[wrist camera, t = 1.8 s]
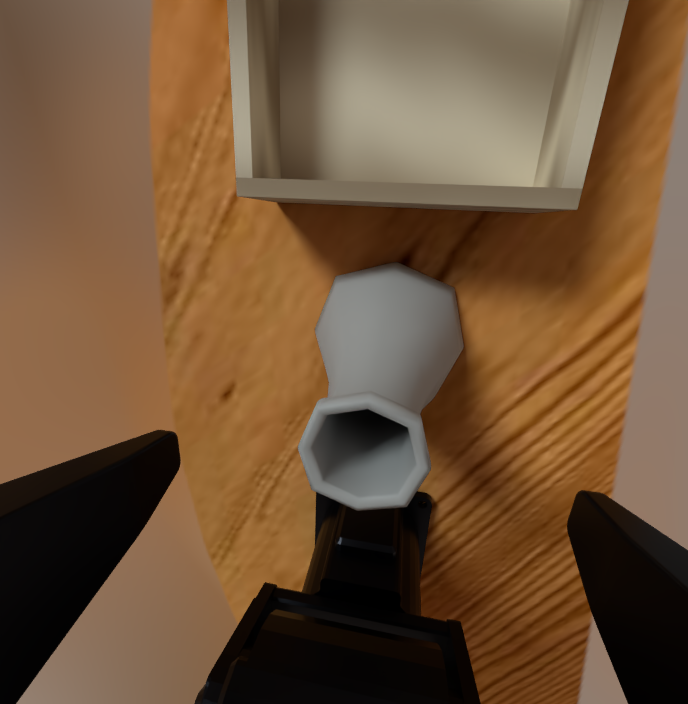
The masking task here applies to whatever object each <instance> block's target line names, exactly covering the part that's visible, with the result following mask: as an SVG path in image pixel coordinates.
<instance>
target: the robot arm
mask: <svg viewBox="0 0 688 704" xmlns="http://www.w3.org/2000/svg"><path fill="white" fill-rule="evenodd" d="M179 467H180V452H179V444H178V437H177V435H176V433H174V432H172V431H165V430H156V431H153V432H150V433H147V434H144V435H141V436H139V437H136V438H133V439H130V440H127V441H124V442H121V443H118V444H115V445H113V446H110V447H107V448H104V449H101V450H98V451H95V452H92V453H89V454H87V455H84V456H81V457H78V458H75V459H72V460H69V461H66V462H63V463H61V464H58V465H55V466H52V467H49V468H46V469H43V470H40V471H37V472H35V473H32V474H29V475H26V476H23V477H20V478H17V479H14V480H11V481H9V482H6V483H3V484H0V704H16V703H17V702H18V700H19V699H20V698H21V696H22V695H23V693H24V692H25V691H26V689H27V688H28V687H29V685H30V684H31V682H32V681H33V680H34V678H35V677H36V675H37V674H38V673H39V671H40V670H41V669H42V667H43V666H44V665H45V663H46V662H47V660H48V659H49V658H50V656H51V655H52V654H53V652H54V651H55V650H56V648H57V647H58V645H59V644H60V643H61V641H62V640H63V638H64V637H65V636H66V634H67V633H68V631H69V630H70V629H71V628H72V626H73V625H74V623H75V622H76V621H77V619H78V618H79V616H80V615H81V614H82V612H83V611H84V610H85V608H86V607H87V606H88V604H89V603H90V601H91V600H92V598H93V597H94V596H95V595H96V593H97V592H98V591H99V589H100V588H101V586H102V585H103V584H104V582H105V581H106V580H107V578H108V577H109V575H110V574H111V573H112V571H113V570H114V569H115V567H116V566H117V564H118V563H119V562H120V560H121V559H122V557H123V556H124V555H125V553H126V552H127V551H128V549H129V548H130V547H131V545H132V544H133V543H134V541H135V540H136V538H137V537H138V536H139V534H140V532H141V531H142V530H143V528H144V527H145V525H146V524H147V522H148V520H149V519H150V517H151V516H152V514H153V512H154V511H155V509H156V507H157V506H158V504H159V502H160V501H161V499H162V497H163V495H164V494H165V492H166V490H167V489H168V487H169V485H170V484H171V482H172V480H173V479H174V477H175V475H176V474H177V472H178V470H179ZM420 501H424V502H425V503H420ZM431 508H432V503H431V497H430V496H429V495H428V494H427V493H424V492H416V493H415V495H414V496H413V498H412V500H411V501H410V503H409V504H408V506H407V507H399V508H386V509H373V510H360V511H357V510H354V509H352V508H350V507H348V506H346V505H344V504H341V503H339V502H337V501H335V500H333V499H331V498H329V497H326V496H324V495H322V494H320V493H318V492H316V528H315V549H314V552H313V556H312V559H311V562H310V566H309V569H308V573H307V576H306V579H305V583H304V586H303V590H302V592H299V591H294V590H289V589H284V588H279V587H277V585H276V584H271V583H266V582H265V583H264V585H263V586H262V588H261V590H260V592H259V593H258V595H257V597H256V598H254V599H253V601H252V602H251V604H250V606H249V607H248V609H247V611H246V613H245V614H244V616H243V618H242V619H241V621H240V623H239V624H238V626H237V628H236V630H235V631H234V633H233V635H232V636H231V638H230V640H229V642H228V643H227V645H226V647H225V648H224V650H223V652H222V654H221V655H220V657H219V658H218V660H217V662H216V664H215V665H214V667H213V669H212V670H211V672H210V674H209V676H208V678H207V681H206V684H205V685H204V687H203V688H202V689H201V690H200V692H199V693H198V695H197V698H196V700H195V704H481V703H480V699H479V695H478V691H477V687H476V683H475V679H474V675H473V670H472V666H471V662H470V658H469V654H468V650H467V646H466V642H465V638H464V633H463V629H462V625H461V622H460V621H455V620H450V619H447V621H443V620H438V619H433V618H428V617H423V616H421V596H420V577H421V570H422V564H423V558H424V552H425V545H426V539H427V533H428V527H429V520H430V514H431ZM567 530H568V535H569V538H570V542H571V545H572V549H573V552H574V555H575V559H576V562H577V566H578V569H579V572H580V576H581V579H582V583H583V586H584V590H585V593H586V596H587V600H588V603H589V606H590V609H591V612H592V615H593V617H594V620H595V622H596V625H597V628H598V630H599V633H600V635H601V638H602V640H603V643H604V645H605V647H606V650H607V652H608V655H609V657H610V660H611V662H612V665H613V667H614V670H615V672H616V675H617V677H618V680H619V682H620V685H621V687H622V690H623V692H624V695H625V697H626V700H627V702H628V704H688V550H687V549H685V548H684V547H682V546H680V545H679V544H678V543H676V542H675V541H673V540H672V539H670V538H669V537H667V536H666V535H664V534H662V533H661V532H660V531H658V530H657V529H655V528H654V527H652V526H651V525H649V524H648V523H646V522H645V521H643V520H642V519H640V518H639V517H637V516H636V515H634V514H633V513H631V512H630V511H628V510H627V509H625V508H624V507H622V506H621V505H619V504H618V503H617V502H615V501H614V500H612V499H611V498H609V497H608V496H606V495H604V494H603V493H599V492H592V491H585V490H581V491H579V492H578V493H577V494H576V497H575V500H574V503H573V506H572V509H571V512H570V515H569V518H568V523H567Z"/></svg>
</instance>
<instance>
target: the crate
mask: <svg viewBox="0 0 688 704" xmlns="http://www.w3.org/2000/svg"><path fill="white" fill-rule="evenodd" d="M628 2H629V0H227V9H228V28H229V48H230V67H231V87H232V107H233V126H234V146H235V165H236V185H237V196H239V197H246V198H252V199H258V200H265V201H271V202H282V203H306V204H330V205H354V206H378V207H402V208H426V209H450V210H474V211H498V212H522V213H543V212H555V211H568V210H577V209H578V205H579V201H580V197H581V193H582V189H583V184H584V180H585V176H586V172H587V168H588V164H589V160H590V156H591V152H592V148H593V144H594V140H595V136H596V132H597V128H598V123H599V119H600V115H601V111H602V107H603V103H604V99H605V95H606V91H607V87H608V83H609V79H610V75H611V71H612V67H613V63H614V58H615V54H616V50H617V46H618V42H619V38H620V34H621V30H622V26H623V22H624V18H625V14H626V10H627V6H628Z"/></svg>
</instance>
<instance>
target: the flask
mask: <svg viewBox="0 0 688 704" xmlns="http://www.w3.org/2000/svg"><path fill="white" fill-rule="evenodd" d="M315 333H316V337H317V340H318V344H319V347H320V351H321V354H322V358H323V361H324V365H325V368H326V372H327V376H328V380H329V389H328V398H322V399H320V400H319V401H318V402H317V404H316V406H315V408H314V411H313V413H312V415H311V418H310V420H309V422H308V424H307V427H306V429H305V431H304V434H303V436H302V438H301V440H300V443H299V445H298V450H299V453H300V456H301V459H302V462H303V465H304V468H305V471H306V474H307V477H308V480H309V483H310V486H311V489H312V490H313V491H316V492H318V493H320V494H322V495H324V496H326V497H329V498H331V499H333V500H335V501H337V502H339V503H341V504H344V505H346V506H348V507H350V508H352V509H354V510H357V511H360V510H373V509H386V508H399V507H407V506H408V504H409V503H410V501H411V500H412V498H413V496H414V495H415V493H416V492H417V490H418V489H419V487H420V486H421V484H422V482H423V481H424V479H425V478H426V476H427V475H428V473H429V471H430V470H431V461H430V457H429V452H428V447H427V442H426V438H425V433H424V428H423V423H422V419H421V415H420V413H421V410H422V409H423V408H424V407H425V406H426V405H427V404H428V403H429V402H431V401H432V400H433V398H434V397H435V396H436V394H437V392H438V391H439V389H440V387H441V386H442V384H443V382H444V380H445V379H446V377H447V375H448V374H449V372H450V370H451V369H452V367H453V365H454V363H455V362H456V360H457V358H458V357H459V355H460V353H461V351H462V350H463V348H464V344H463V338H462V331H461V325H460V319H459V313H458V307H457V301H456V294H455V288H454V287H452V286H449V285H447V284H445V283H443V282H440V281H438V280H436V279H434V278H431V277H429V276H427V275H425V274H423V273H420V272H418V271H416V270H414V269H411V268H409V267H407V266H405V265H402V264H400V263H398V262H393V263H389V264H385V265H380V266H376V267H372V268H368V269H364V270H360V271H356V272H351V273H347V274H343V275H339V276H336V277H335V280H334V282H333V285H332V287H331V290H330V292H329V295H328V297H327V300H326V302H325V305H324V307H323V310H322V312H321V315H320V317H319V320H318V322H317V325H316V328H315Z"/></svg>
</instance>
